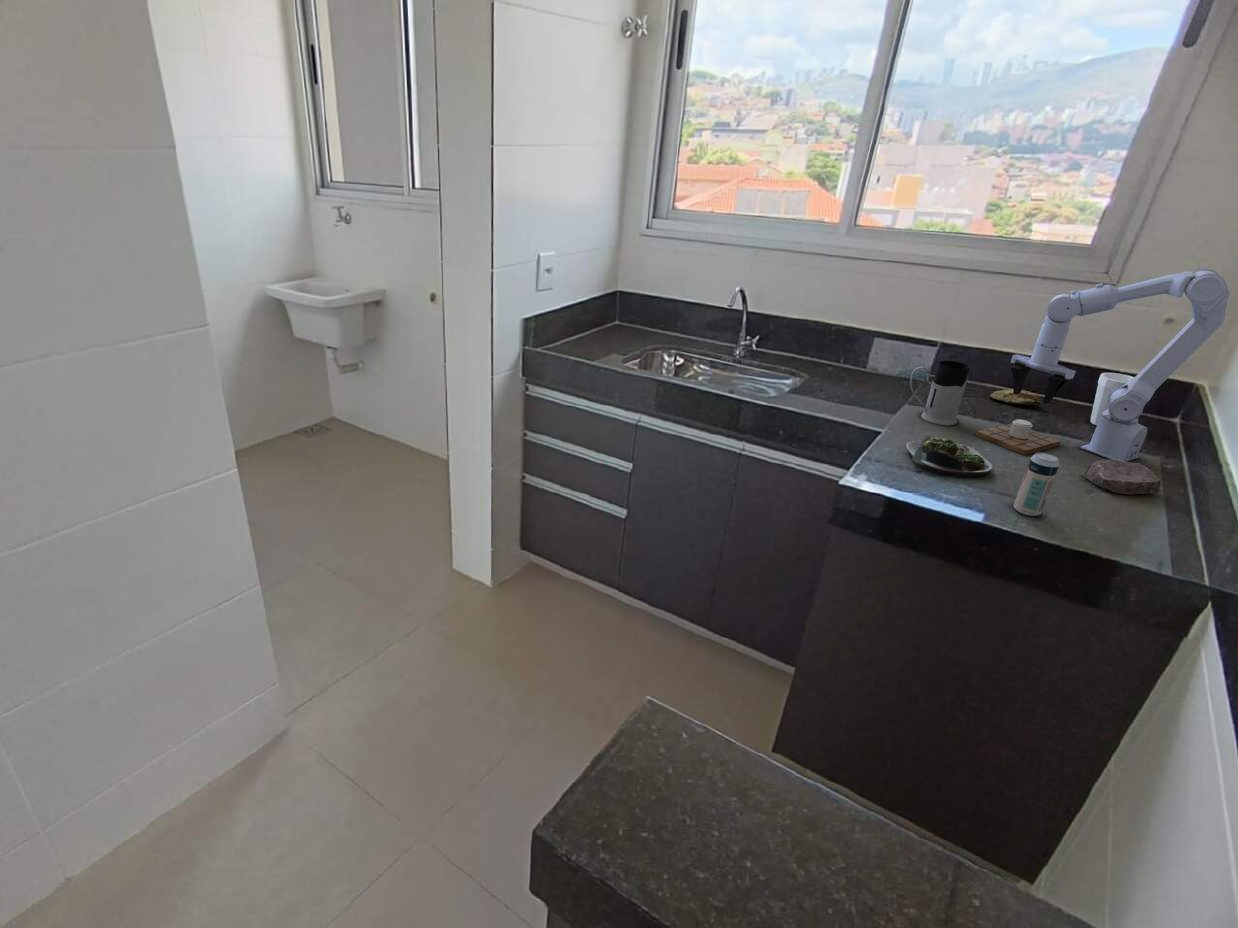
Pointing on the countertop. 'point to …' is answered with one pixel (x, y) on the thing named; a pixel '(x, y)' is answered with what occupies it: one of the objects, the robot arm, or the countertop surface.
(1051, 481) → the supplement jar
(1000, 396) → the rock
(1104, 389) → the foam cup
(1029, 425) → the white cylinder
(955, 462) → the salad plate
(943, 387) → the glass holder
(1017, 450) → the board
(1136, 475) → the stone
